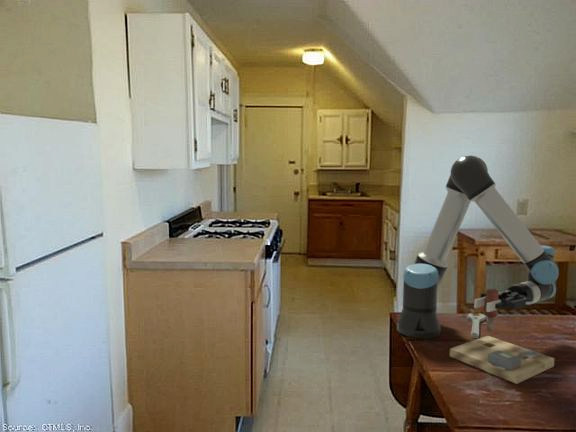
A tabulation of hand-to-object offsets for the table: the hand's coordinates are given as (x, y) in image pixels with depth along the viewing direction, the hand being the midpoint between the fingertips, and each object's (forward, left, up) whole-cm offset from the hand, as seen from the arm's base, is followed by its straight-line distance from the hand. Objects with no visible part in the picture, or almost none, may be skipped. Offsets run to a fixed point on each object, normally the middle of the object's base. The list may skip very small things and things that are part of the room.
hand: (481, 305), depth 147 cm
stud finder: (+11, -4, -14) cm, 18 cm away
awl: (0, +5, -9) cm, 10 cm away
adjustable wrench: (-17, +23, -17) cm, 33 cm away
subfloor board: (+6, +2, -16) cm, 18 cm away
